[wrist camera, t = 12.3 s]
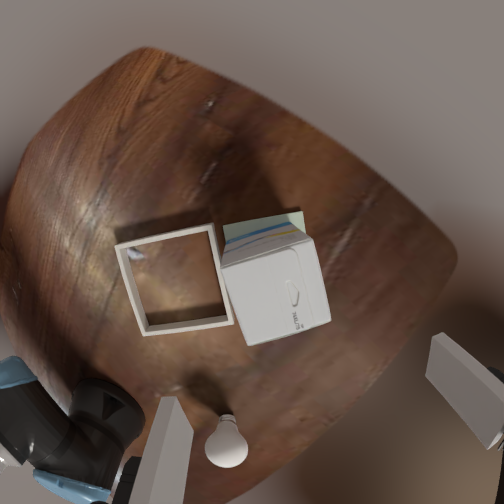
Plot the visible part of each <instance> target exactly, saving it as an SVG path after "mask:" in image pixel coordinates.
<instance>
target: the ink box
mask: <svg viewBox="0 0 504 504" xmlns="http://www.w3.org/2000/svg"><path fill="white" fill-rule="evenodd" d="M220 271H221V274H222V277H223V280H224V283H225V286H226V288H227V291H228V294H229V297H230V300H231V302H232V305H233V308H234V311H235V313H236V316H237V319H238V322H239V324H240V327H241V330H242V332H243V335H244V338H245V340H246V342H247V345H248V346H252V345H256V344H260V343H264V342H268V341H272V340H276V339H279V338H283V337H286V336H290V335H293V334H296V333H299V332H302V331H305V330H308V329H311V328H314V327H316V326H319V325H322V324H325V323H327V322H330V321H331V315H330V310H329V305H328V300H327V296H326V291H325V287H324V282H323V278H322V273H321V269H320V265H319V260H318V256H317V253H316V249H315V245H314V242H313V239H312V238H311V237H309V236H308V235H306V234H305V233H304V232H302V231H301V230H300V229H299V228H297V227H296V226H295V225H293V224H292V223H291V222H285V223H282V224H278V225H275V226H271V227H268V228H264V229H261V230H257V231H254V232H251V233H248V234H245V235H242V236H239V237H236V238H233V239H230V240H228V241H227V242H226V245H225V249H224V253H223V257H222V260H221V264H220Z"/></svg>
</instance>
